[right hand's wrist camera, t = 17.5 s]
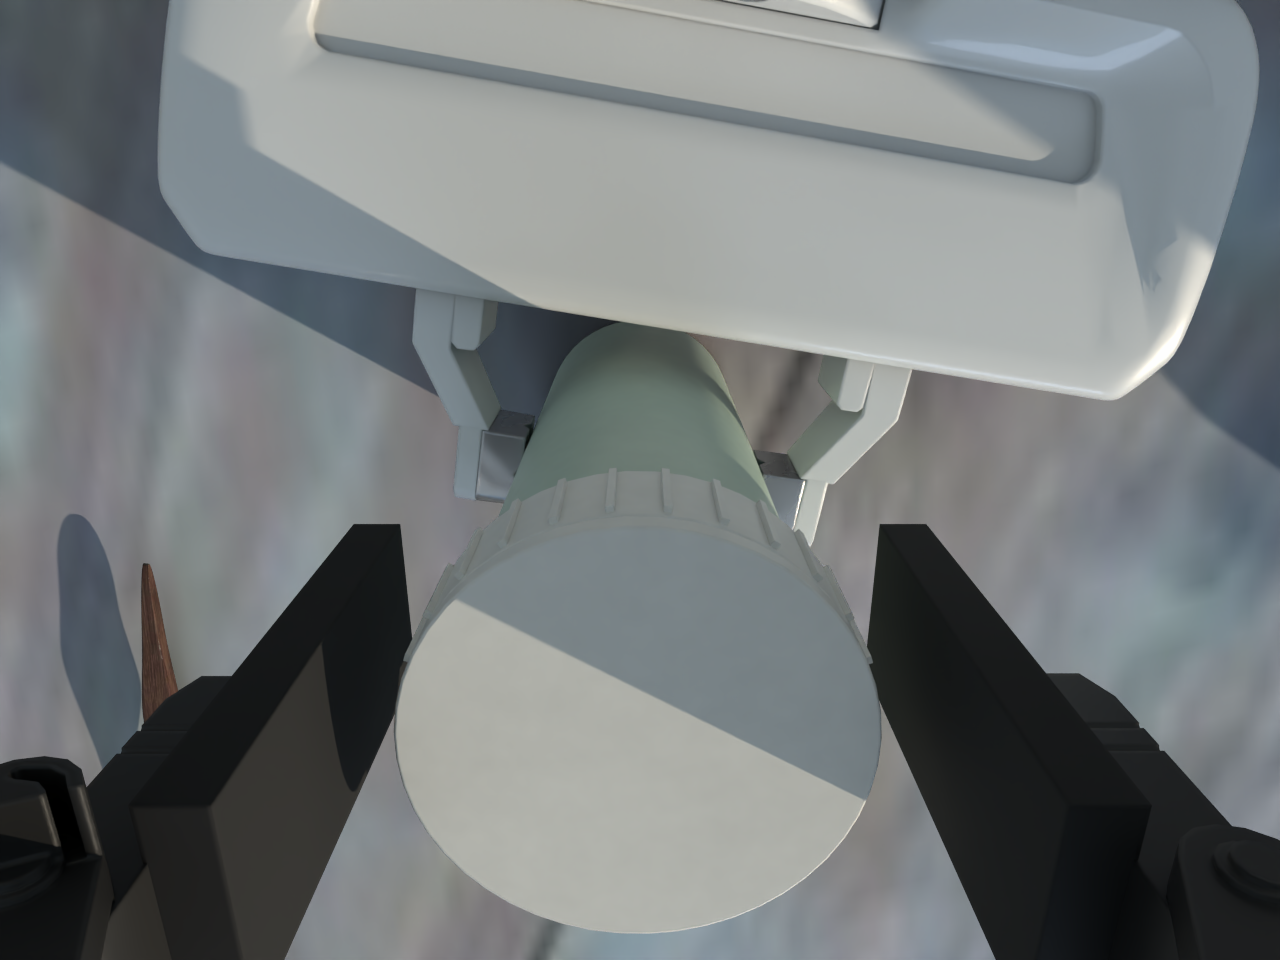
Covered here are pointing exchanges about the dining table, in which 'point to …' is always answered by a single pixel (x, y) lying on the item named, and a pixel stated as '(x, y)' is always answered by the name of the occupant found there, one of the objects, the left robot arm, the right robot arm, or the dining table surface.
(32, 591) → the dining table surface
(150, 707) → the fork
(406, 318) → the dining table surface
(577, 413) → the jar
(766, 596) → the lid
